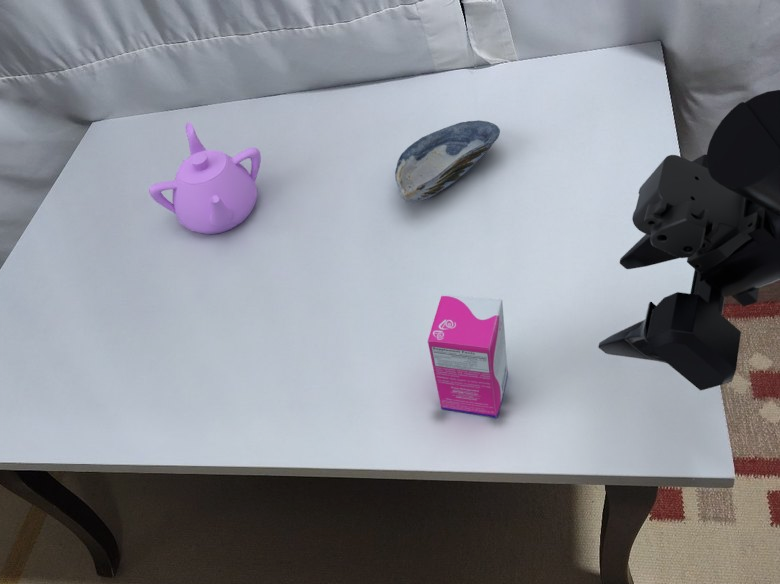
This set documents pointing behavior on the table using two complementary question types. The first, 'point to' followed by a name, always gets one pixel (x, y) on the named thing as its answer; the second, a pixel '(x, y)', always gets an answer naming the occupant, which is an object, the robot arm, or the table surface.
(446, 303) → the supplement box
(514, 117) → the table surface
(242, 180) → the teapot
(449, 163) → the seashell
